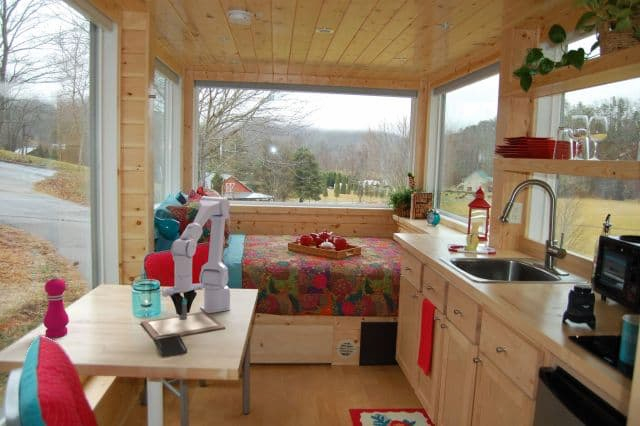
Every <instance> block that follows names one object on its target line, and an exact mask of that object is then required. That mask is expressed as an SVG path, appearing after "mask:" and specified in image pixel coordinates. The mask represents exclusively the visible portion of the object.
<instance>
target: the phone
mask: <svg viewBox="0 0 640 426" xmlns="http://www.w3.org/2000/svg"><path fill="white" fill-rule="evenodd" d="M173 335H178V334H173ZM165 336H170V335H165ZM157 337H162V336H157ZM181 337H182V336H181ZM181 337H180V336H179V335H178V336H172V337H166V338H160V339H155V340H154V343H155V345H156V348H157V350H158V352H159V355H160V357H163V358H164V357H172V356H178V355H186V354H187V353H188V349H187V347H186V345H185V343H184V342H183V339H182V338H181ZM155 338H156V337H155Z"/></svg>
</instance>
